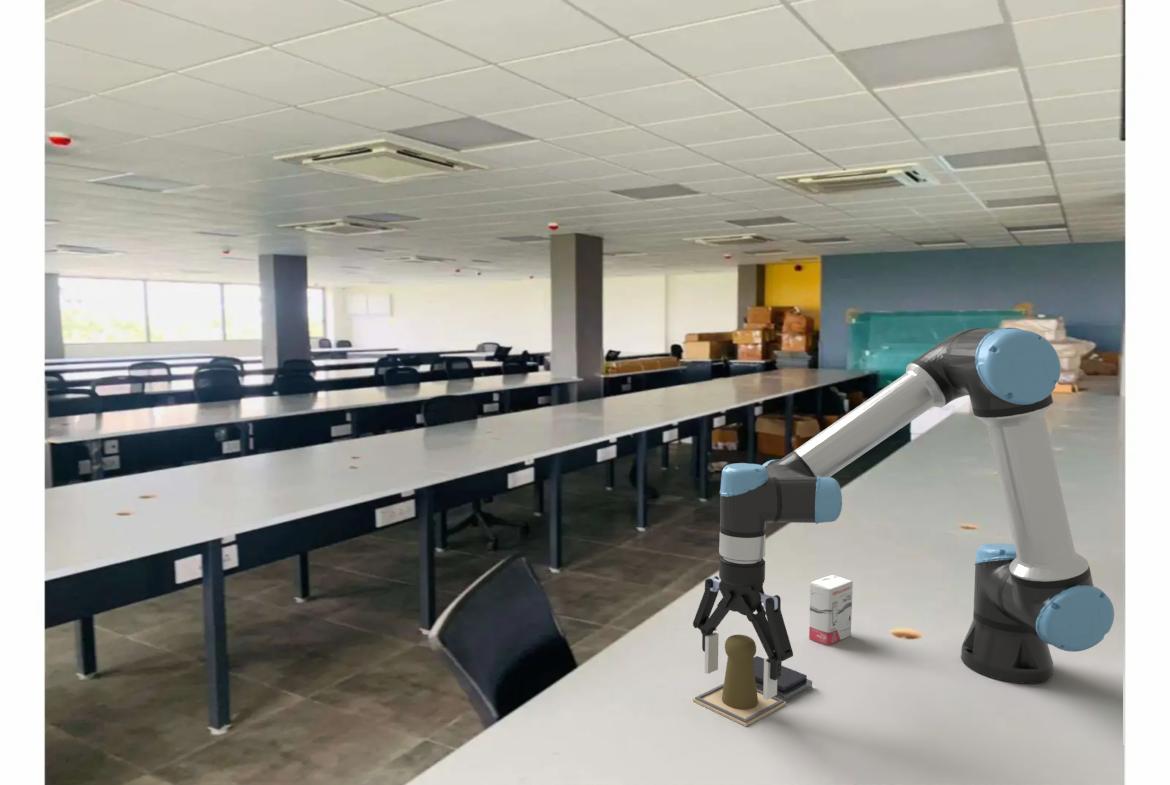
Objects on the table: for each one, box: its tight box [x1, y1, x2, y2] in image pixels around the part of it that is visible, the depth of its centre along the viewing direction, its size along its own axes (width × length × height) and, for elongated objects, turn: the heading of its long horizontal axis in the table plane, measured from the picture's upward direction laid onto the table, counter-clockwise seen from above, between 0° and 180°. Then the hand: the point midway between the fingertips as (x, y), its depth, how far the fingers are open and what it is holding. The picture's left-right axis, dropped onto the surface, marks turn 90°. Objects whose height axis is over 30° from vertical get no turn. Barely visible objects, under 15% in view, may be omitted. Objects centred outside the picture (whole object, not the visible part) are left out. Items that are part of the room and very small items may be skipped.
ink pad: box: [753, 655, 813, 703], centre depth 136 cm, size 12×8×2 cm
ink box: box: [808, 574, 854, 646], centre depth 156 cm, size 9×5×12 cm, turn 129°
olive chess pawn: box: [722, 634, 758, 709], centre depth 129 cm, size 6×6×11 cm
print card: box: [692, 683, 787, 727], centre depth 129 cm, size 11×11×1 cm
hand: (739, 683), depth 129 cm, fingers open, 11 cm apart
